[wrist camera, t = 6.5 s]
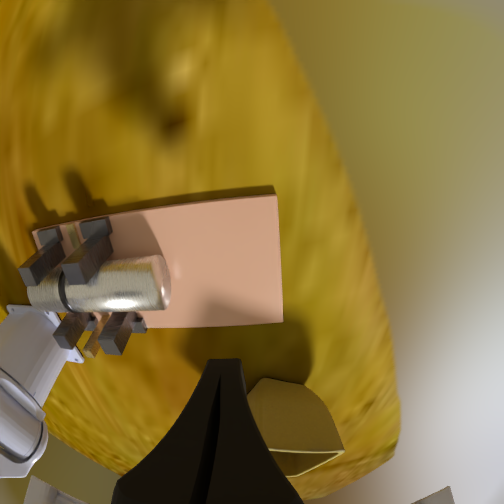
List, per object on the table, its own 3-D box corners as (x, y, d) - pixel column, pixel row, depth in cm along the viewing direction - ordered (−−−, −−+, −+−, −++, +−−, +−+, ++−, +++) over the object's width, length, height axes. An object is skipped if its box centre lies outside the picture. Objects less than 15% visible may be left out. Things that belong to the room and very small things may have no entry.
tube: (58, 305, 20) (33, 317, 16) (50, 265, 19) (23, 273, 16) (174, 300, 19) (156, 318, 15) (166, 250, 18) (145, 259, 15)
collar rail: (82, 325, 22) (63, 358, 18) (40, 229, 17) (7, 254, 13) (147, 328, 21) (132, 367, 17) (108, 215, 17) (75, 244, 13)
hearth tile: (75, 321, 22) (73, 324, 22) (35, 229, 17) (31, 231, 17) (282, 317, 21) (283, 322, 21) (276, 193, 17) (276, 195, 16)
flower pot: (331, 377, 25) (348, 452, 17) (290, 414, 29) (296, 478, 21) (254, 359, 24) (255, 447, 16) (222, 401, 27) (217, 471, 19)
